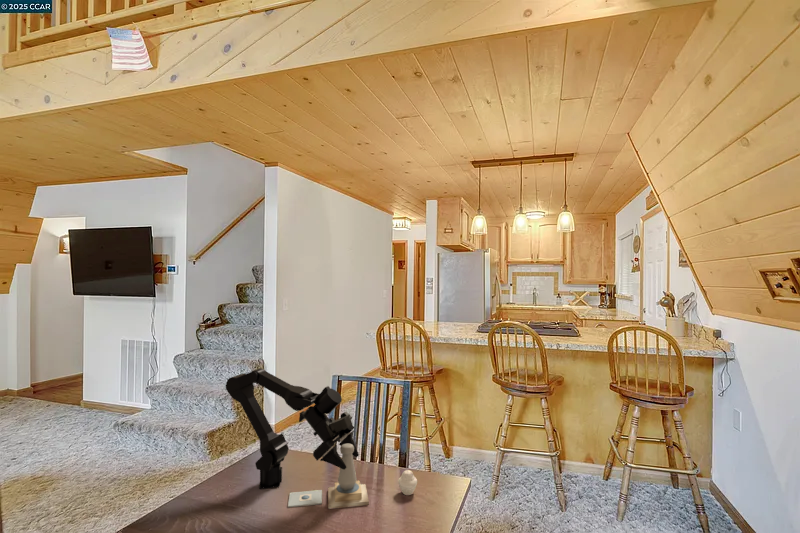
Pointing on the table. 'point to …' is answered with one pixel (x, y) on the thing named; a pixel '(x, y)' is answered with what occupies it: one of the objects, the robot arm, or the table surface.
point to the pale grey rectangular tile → (305, 498)
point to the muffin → (407, 482)
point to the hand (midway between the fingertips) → (351, 462)
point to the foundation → (347, 496)
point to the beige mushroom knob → (348, 475)
